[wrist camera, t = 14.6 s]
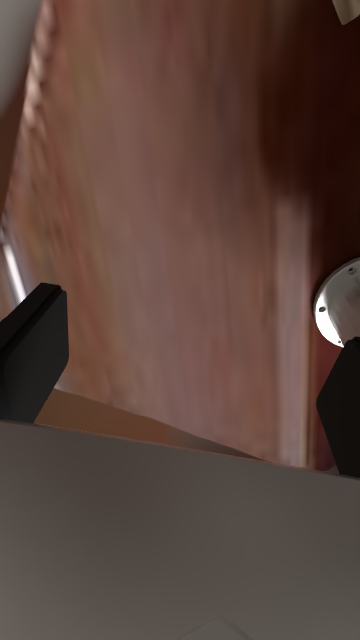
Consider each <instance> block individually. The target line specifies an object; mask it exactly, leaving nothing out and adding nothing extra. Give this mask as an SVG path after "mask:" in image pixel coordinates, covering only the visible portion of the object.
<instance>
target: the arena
mask: <svg viewBox="0 0 360 640" xmlns="http://www.w3.org/2000/svg"><path fill="white" fill-rule="evenodd" d="M332 2H333V4H334V7H335V9H336V12H337V14H338V17H339V19H340V22H341V24H342V25H345V24H347V23H348V22H350V21H351V20H353V19H354V18H356V17H358V16H359V15H360V0H332Z"/></svg>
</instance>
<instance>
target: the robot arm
mask: <svg viewBox="0 0 360 640" xmlns="http://www.w3.org/2000/svg"><path fill="white" fill-rule="evenodd" d="M350 268H351V269H350ZM349 269H350V270H349ZM313 315H314V320H315V322H316V325H317V327H318V329H319V330H320V332H321V333H322V335H323V336H324V337H325V338H326V339H327V340H329V341H330V342H332V343H334V344H336V345H338V346H341V347H343V348H342V350H341V352H340V354H339V356H338V358H337V360H336V362H335V364H334V366H333V368H332V370H331V372H330V374H329V376H328V378H327V380H326V382H325V384H324V386H323V388H322V390H321V392H320V393H319V395H318V398H317V402H316V406H317V410H318V413H319V416H320V419H321V422H322V424H323V427H324V430H325V433H326V436H327V439H328V442H329V445H330V448H331V451H332V454H333V456H334V459H335V462H336V465H337V468H338V471H339V474H335V473H329V472H324V471H318V470H312V469H307V468H301V467H295V466H289V465H284V464H278V463H272V462H267V461H260V460H254V459H249V458H243V457H237V456H231V455H225V454H219V453H214V452H208V451H201V450H195V449H190V448H184V447H178V446H172V445H165V444H160V443H154V442H147V441H142V440H135V439H129V438H123V437H117V436H111V435H105V434H99V433H92V432H86V431H80V430H73V429H68V428H61V427H55V426H48V425H41V424H35V423H33V422H34V421H35V419H36V417H37V415H38V414H39V412H40V410H41V409H42V407H43V405H44V403H45V402H46V400H47V398H48V397H49V395H50V393H51V391H52V390H53V388H54V386H55V384H56V383H57V381H58V379H59V377H60V376H61V374H62V372H63V371H64V369H65V367H66V365H67V363H68V359H69V343H68V316H67V294H66V291H63V290H62V289H61V287H60V285H54V284H48V283H40V284H39V285H38V286H37V287H36V288H35V289H34V290H33V291H32V292H31V293H30V294H29V295H28V296H27V297H26V298H25V299H24V300H23V301H22V302H21V303H20V304H19V305H18V306H17V307H16V308H15V309H14V310H13V311H12V312H11V313H10V314H9V315H8V316H7V317H6V318H4V319H3V320H2V321H1V322H0V640H360V257H358V258H355V259H353V260H351V261H349V262H347V263H345V264H343V265H342V266H340V267H339V268H338V269H336V270H335V271H334V272H333V273H331V274H330V275H329V276H328V277H327V278H326V280H325V281H324V282H323V284H322V285H321V286H320V288H319V290H318V292H317V294H316V297H315V300H314V304H313Z"/></svg>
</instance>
